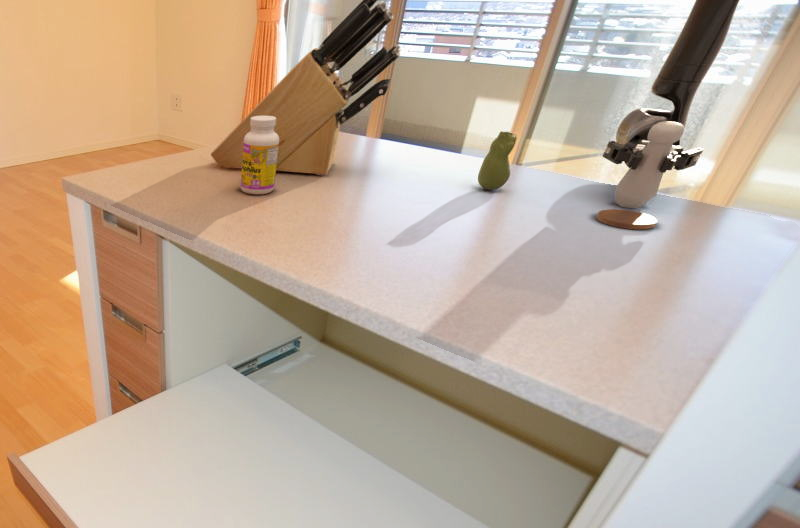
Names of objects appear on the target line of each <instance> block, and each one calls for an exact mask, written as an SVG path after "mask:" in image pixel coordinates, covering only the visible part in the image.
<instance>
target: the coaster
mask: <svg viewBox="0 0 800 528" xmlns="http://www.w3.org/2000/svg"><path fill="white" fill-rule="evenodd" d="M595 219H596V220H597V221H598V222H600V223H602V224H604V225H607V226H611V227H614V228H620V229H626V230H638V231H639V230H640V231H641V230H650V229H654V228H655V227H656V225H657V223H658V219H657V218H656V217H654V216H652V215H651V214H648V213H644V212H639V211H634V210H629V209H617V208H611V209H610V208H609V209H602V210H599V211H597V214H596V216H595Z"/></svg>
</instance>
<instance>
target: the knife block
mask: <svg viewBox="0 0 800 528" xmlns="http://www.w3.org/2000/svg"><path fill="white" fill-rule="evenodd" d="M377 1H378V0H362V1H361V2H359V4H358V5H357V6H356V7H355V8H354V9H353V10H352V11H351V12H350V13H349V14H348V15H347V16H346V17H345V18H344V19H343V20H342V21H341V22H340V23H339V24H338V25H337V26H336V27H335V28H334V29H333V30H332V31H331V32H330V33H329V35H327V36H326V37H325V38H324V40H323V41H322V43H320V45H319V46H318V47H315V48H313V49H311V50H310V51H309V52H308V53H307V54H306V55H304V57H302V58H301V60H299V62H298V63H297V64H295V66H294V67H293V68H292V69H291V70H290V71H289V72H288V73H286V75H285V76H283V78H282V79H281V80H280V81H279V82H278V83H277V84H276V85H275V86H274V87H273V88H272V89H271V90H270V91H269V92H268V94H266V95H265V97H264V98H263V99H262V100H261V101H260V102H259V103H258V104H256V105H255V107H254V108H252V109H251V111H250V112H249V113H248V114H247V115H246V116H245V117H244V118H243V119H242V120H241V121H240V122H239V123H238V125H236V127H235V128H234V129H233V130H232V131H231V132H229V134H228V135H227V136H226V137H225V138H224V139H223V140H222V141H221V142H220V143H219V144H218V145H217V146H216V147H215V149H214V150H213V151H211V153H210V156H211V157H212V158H213V160H214V161H215V163H216V164H217V165H218V166H219V167H224V168H225V169H232V168H235V169H242V158H243V144H244V137H245V135H246V134H247V133H249V132H250V131H251V125H250V120H251V117H254V116H273V117H276V125H275V127H274V132H275V133H277V134H278V136H279V147H278V155H277V165H276V172H290V173H302V174H313V175H314V174H315V175H316V176H324V175H327V174H328V172H329V170H330V168H331V167H332V165H333V162H334V159H335V153H336V150H337V143H338V139H339V133H340V130H341V129H340V127H341V126H342V125H343V124H344V123H346V122H347V121H349V120H350V119H352V118H353V117H354V116H357V114H359V113H360V112H361V111H363V110H364V109H365V108H367V107H368V106H369V105H370V104H371V103H373V102H374V101H375V100H376V99H378V98H379V97H382V96H385V95H386V93H387V91H388V88H389V85H390V83H391V78H385V79H381V80H379V81H378V82H376V83H375V84H373V85H372V86H370V87H369V88H368V89H366V90H365V91H364V92H363V93H362V94H361V95H359V96H358V97H357V98H356V99H355V100H353V101H352V102H351V103H350V104H349V105H348V106H347V107H346V108H344V107H345V106H346V105H347V103H348V102H349V100H350V98H351V97H353V96H354V95H356V94H357V93H359V92H360V91H361V90H363V89H364V88H365V87H366V86H367V85H368V84H369V83H370V82H371V81H373V80H374V79H375V78H376V77H377V76H379V75H380V74H381V73H382V72H383V71H384V70H386V68H388V67H389V66H390V65H391V64H393V62H395V61H396V60H397V59H398V58H399V57H400V56H401V51H402V49H401V46H400V45H398V44H395V45H393V47H391V48H390V49H389V50H388V48H387V47H386V46H383V47H381V48H380V49H379V50H378V51H377V52H376V53H375V54H374V55H373V56H371V58H370V59H368V60H367V61H366V62H365V63H364V64H362V66H361V67H359V69H357V70H356V71H354V73H352V75H351V78H350V79H349V80H347V81H344V82H343V81H342V80H341V79H340V77H339V76H338V74H337V73H336V72H337V71H339V70H340V69H342V68H343V67H345V66H346V64H347V63H348V62H349V61H351V60H352V59H353V58H354V57H355V56H356V55H357V54H358V53H359V52H361V51H362V50H363V49H364V48H365V47H366V46H367V45H368V44H369V43H370V42H371V41H372V40H373V39H374V38H375V37H376V36H377V35H378V34H379V33H381V31H382V30H383V29H384V28H385V27H386V26H387V25H388V24H389V23H390V22H391V21H392V20H393V19H394V13H393V11H391V10H390V9H388V7H387V4H386V3H385V2H384V1H379V3H377V4H376V2H377ZM375 4H376V6H374V5H375ZM373 6H374V7H373ZM372 7H373V8H372ZM371 8H372V9H371ZM333 62H334V63H333ZM329 63H333V64H332V66H331V65H330V64H329ZM349 84H350V85H349ZM347 85H349V86H348V88H347V87H346V86H347ZM343 108H344V109H343Z"/></svg>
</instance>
